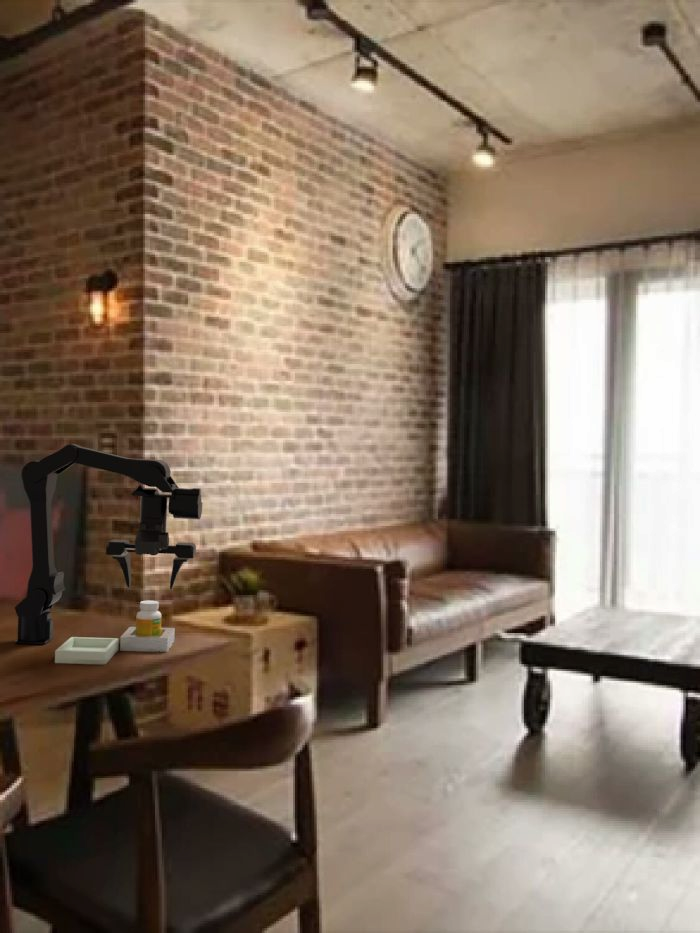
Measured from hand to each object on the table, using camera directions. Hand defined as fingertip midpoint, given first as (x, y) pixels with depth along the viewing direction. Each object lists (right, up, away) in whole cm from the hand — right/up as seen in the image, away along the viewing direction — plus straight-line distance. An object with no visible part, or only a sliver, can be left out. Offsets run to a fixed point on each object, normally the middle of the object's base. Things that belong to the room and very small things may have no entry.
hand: (150, 587), depth 191 cm
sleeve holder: (-1, -13, 0) cm, 13 cm away
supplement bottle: (-1, -13, 0) cm, 13 cm away
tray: (-10, -13, -11) cm, 20 cm away
